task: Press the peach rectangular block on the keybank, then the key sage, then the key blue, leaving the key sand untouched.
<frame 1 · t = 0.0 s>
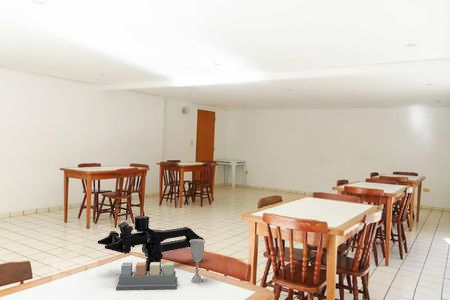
hand: (101, 244, 162), 17 cm above the table, tool horizontal, fingers open, 9 cm apart
key sand: (155, 270, 160), point 7 cm above the table, slide at 0.0 cm
key sage: (169, 269, 160), point 7 cm above the table, slide at 0.0 cm
chalice: (196, 281, 165), on the table
keybank: (147, 285, 160), on the table
key blue: (126, 270, 159), point 7 cm above the table, slide at 0.0 cm
peach rectangular block: (141, 270, 159), point 7 cm above the table, slide at 0.0 cm
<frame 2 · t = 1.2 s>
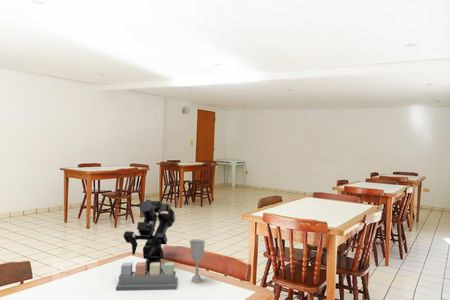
hand: (140, 255, 159), 13 cm above the table, tool tilted 45°, fingers open, 7 cm apart
nothing on the table moved.
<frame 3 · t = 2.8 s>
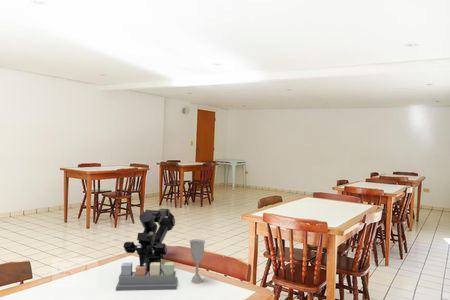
hand: (141, 265, 159), 8 cm above the table, tool tilted 45°, fingers closed, pressing on peach rectangular block
peach rectangular block: (140, 272, 159), point 5 cm above the table, slide at 1.2 cm, touching gripper
everything else where it was.
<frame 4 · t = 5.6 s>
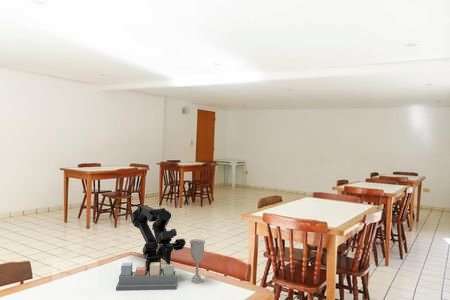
hand: (169, 263, 160), 9 cm above the table, tool tilted 45°, fingers closed, pressing on key sage
key sage: (169, 270, 160), point 6 cm above the table, slide at 0.4 cm, touching gripper
peach rectangular block: (140, 274, 159), point 5 cm above the table, slide at 1.9 cm
everything else where it was.
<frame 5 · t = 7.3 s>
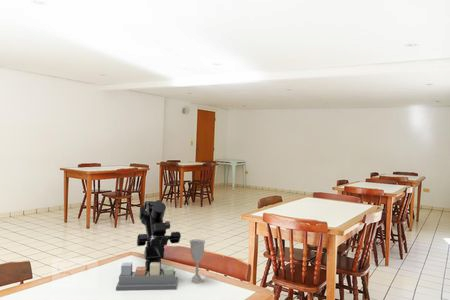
hand: (161, 256, 158), 13 cm above the table, tool tilted 45°, fingers closed
key sage: (168, 274, 160), point 5 cm above the table, slide at 1.9 cm
everything else where it was.
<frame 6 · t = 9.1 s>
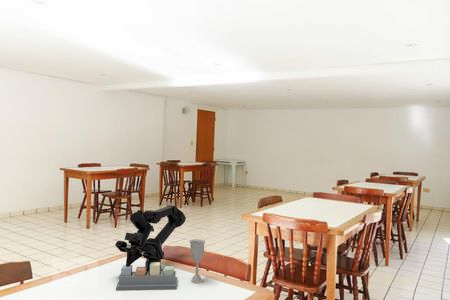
hand: (126, 266, 159), 8 cm above the table, tool tilted 45°, fingers closed, pressing on key blue
key blue: (126, 273, 159), point 5 cm above the table, slide at 1.1 cm, touching gripper
everything else where it was.
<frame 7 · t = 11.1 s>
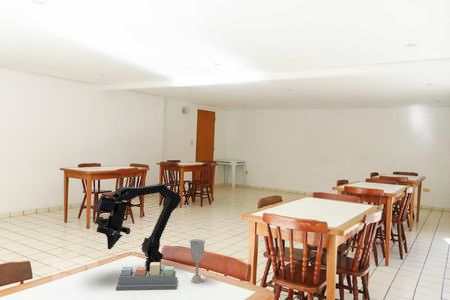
hand: (109, 249, 164), 14 cm above the table, tool tilted 15°, fingers closed
key blue: (126, 274, 159), point 5 cm above the table, slide at 1.9 cm
everything else where it was.
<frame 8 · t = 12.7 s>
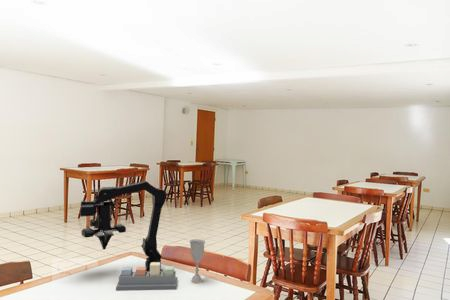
hand: (103, 249, 169), 12 cm above the table, tool pointing down, fingers closed
nothing on the table moved.
at the end: peach rectangular block slide at 1.9 cm; key sage slide at 1.9 cm; key blue slide at 1.9 cm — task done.
